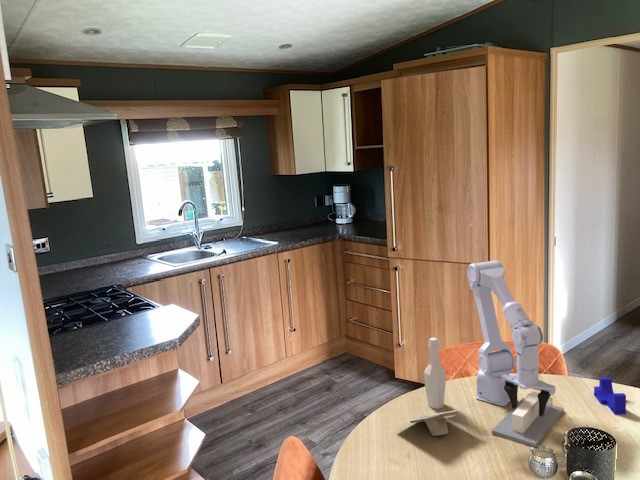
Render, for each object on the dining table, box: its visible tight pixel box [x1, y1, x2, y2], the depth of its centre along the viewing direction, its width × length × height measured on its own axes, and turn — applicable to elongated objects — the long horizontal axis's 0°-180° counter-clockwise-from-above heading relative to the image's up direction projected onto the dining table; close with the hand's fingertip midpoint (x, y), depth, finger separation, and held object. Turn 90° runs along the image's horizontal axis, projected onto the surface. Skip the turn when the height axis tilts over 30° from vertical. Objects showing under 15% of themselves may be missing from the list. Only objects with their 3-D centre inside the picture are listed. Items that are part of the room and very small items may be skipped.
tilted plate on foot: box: [394, 408, 464, 437], centre depth 149 cm, size 16×9×15 cm
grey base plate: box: [491, 392, 565, 448], centre depth 151 cm, size 12×23×4 cm, turn 138°
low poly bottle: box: [423, 337, 447, 410], centre depth 163 cm, size 6×6×22 cm
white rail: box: [512, 391, 540, 434], centre depth 150 cm, size 3×16×5 cm, turn 138°
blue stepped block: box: [593, 376, 627, 415], centre depth 157 cm, size 12×4×6 cm, turn 171°
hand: (528, 410), depth 150 cm, fingers open, 7 cm apart
